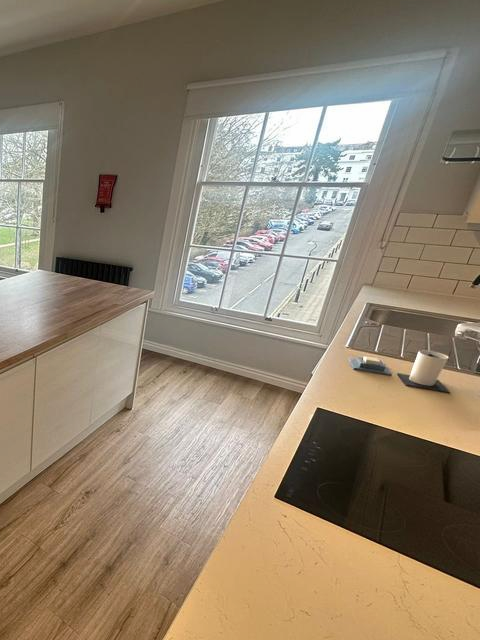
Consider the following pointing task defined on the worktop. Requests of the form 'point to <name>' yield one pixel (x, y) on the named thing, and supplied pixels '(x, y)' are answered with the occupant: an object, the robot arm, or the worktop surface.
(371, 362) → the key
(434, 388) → the coaster
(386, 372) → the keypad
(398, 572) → the worktop surface
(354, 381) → the worktop surface
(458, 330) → the robot arm
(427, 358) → the white mug
